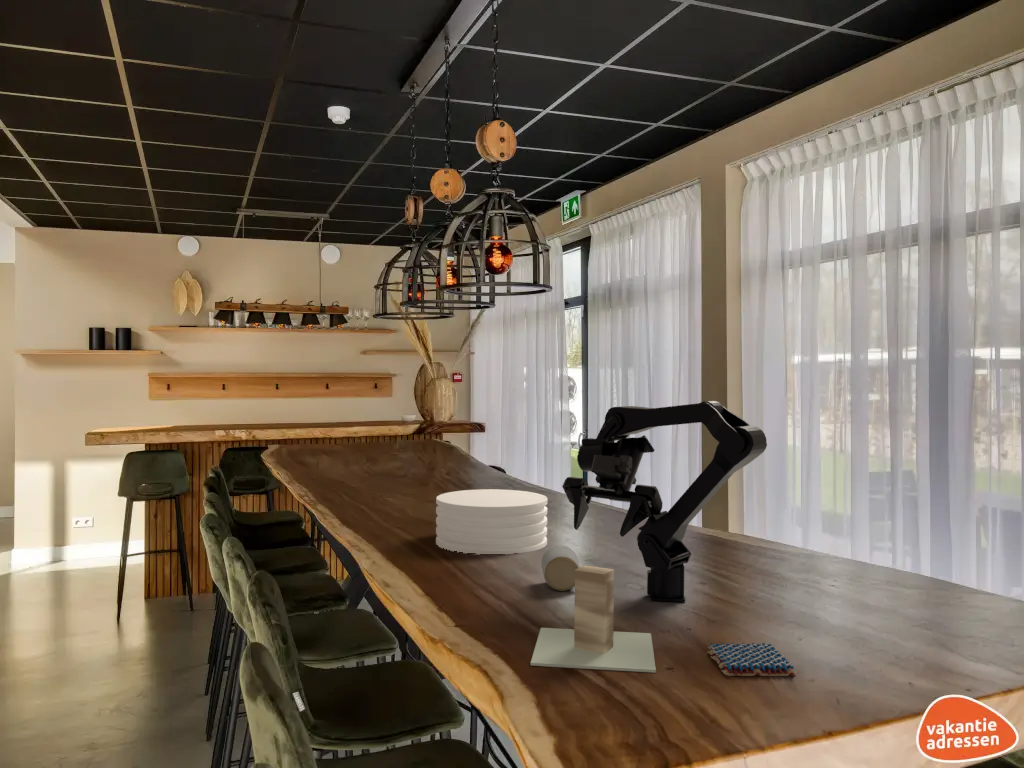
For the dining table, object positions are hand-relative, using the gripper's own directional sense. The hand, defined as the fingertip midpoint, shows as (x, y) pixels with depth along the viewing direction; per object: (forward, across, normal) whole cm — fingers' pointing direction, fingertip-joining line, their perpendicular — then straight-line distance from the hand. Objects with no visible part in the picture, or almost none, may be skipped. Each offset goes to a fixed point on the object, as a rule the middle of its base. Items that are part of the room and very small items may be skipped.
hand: (597, 531), depth 145 cm
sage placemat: (+25, +10, -6) cm, 27 cm away
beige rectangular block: (+25, +10, -7) cm, 27 cm away
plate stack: (-14, -45, +36) cm, 59 cm away
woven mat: (+20, +32, -1) cm, 38 cm away
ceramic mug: (+4, -10, +16) cm, 19 cm away
